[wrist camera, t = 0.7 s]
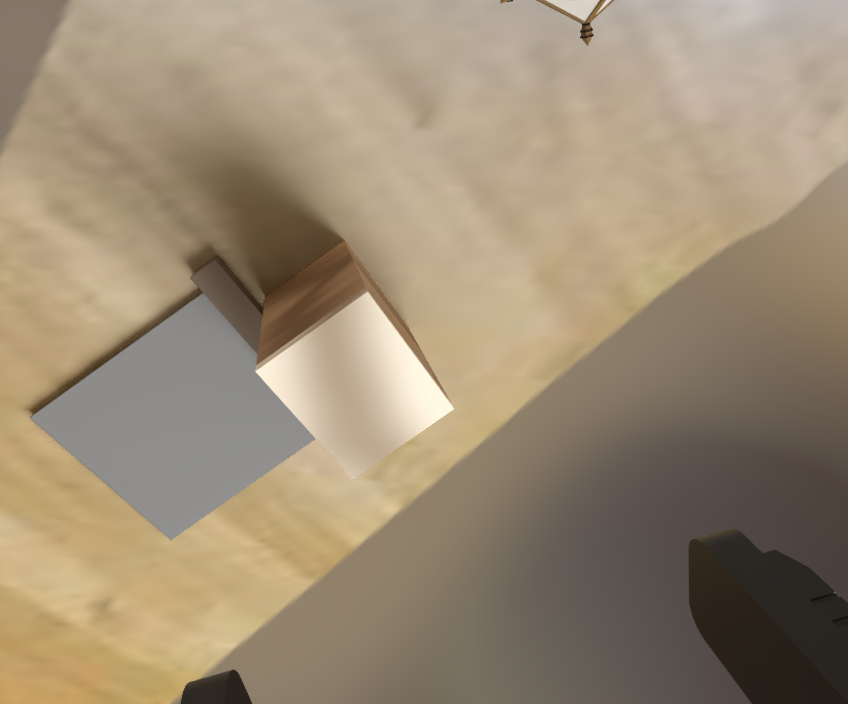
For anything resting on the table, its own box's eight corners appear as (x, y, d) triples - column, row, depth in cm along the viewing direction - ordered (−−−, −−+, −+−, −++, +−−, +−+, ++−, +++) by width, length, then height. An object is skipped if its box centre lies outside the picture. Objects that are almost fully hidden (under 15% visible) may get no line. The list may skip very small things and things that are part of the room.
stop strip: (217, 255, 30) (215, 260, 29) (359, 423, 35) (361, 432, 34) (193, 273, 30) (190, 278, 29) (338, 438, 35) (339, 447, 34)
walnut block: (344, 239, 31) (367, 291, 22) (408, 328, 33) (454, 408, 24) (265, 296, 31) (255, 371, 22) (335, 380, 33) (352, 479, 24)
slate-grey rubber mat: (206, 288, 30) (205, 291, 30) (327, 426, 34) (328, 430, 34) (32, 414, 31) (29, 418, 30) (172, 535, 35) (171, 540, 34)
